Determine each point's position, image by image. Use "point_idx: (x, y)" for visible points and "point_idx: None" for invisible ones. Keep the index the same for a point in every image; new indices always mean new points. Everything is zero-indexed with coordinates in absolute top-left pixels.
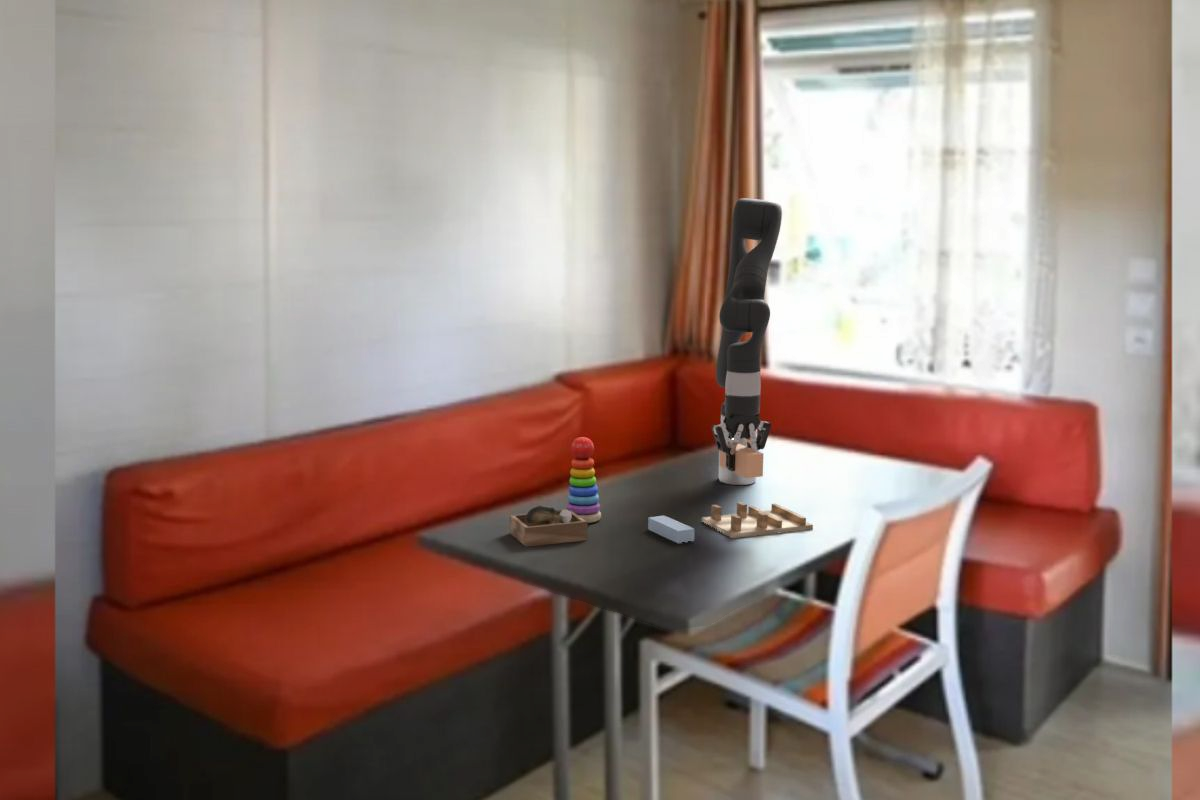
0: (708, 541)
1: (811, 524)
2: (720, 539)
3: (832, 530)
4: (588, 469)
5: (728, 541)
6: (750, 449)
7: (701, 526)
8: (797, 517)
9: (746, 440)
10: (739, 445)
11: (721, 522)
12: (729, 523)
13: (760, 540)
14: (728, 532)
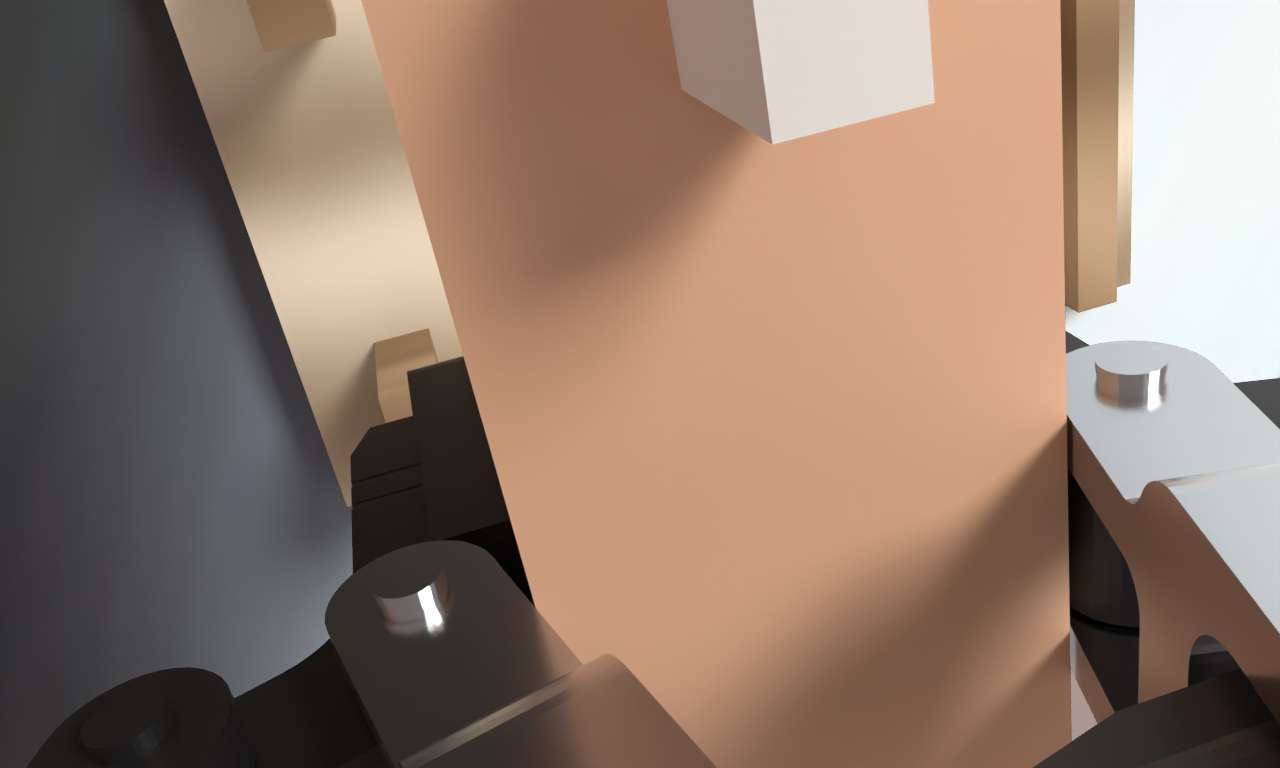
0: (106, 558)
1: (1124, 272)
2: (233, 505)
3: (1222, 311)
4: None
5: (298, 560)
6: (1005, 729)
7: (89, 41)
8: (1070, 232)
9: (1154, 626)
10: (953, 206)
11: (321, 107)
12: (404, 155)
13: None
14: (326, 446)
